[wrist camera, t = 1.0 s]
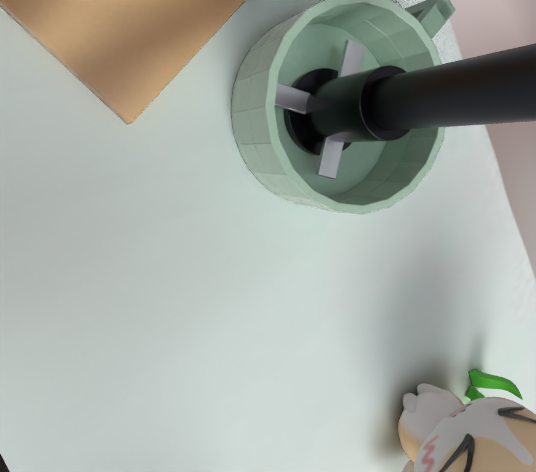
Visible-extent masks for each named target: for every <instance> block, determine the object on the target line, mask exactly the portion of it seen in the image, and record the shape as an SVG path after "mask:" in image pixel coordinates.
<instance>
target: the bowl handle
mask: <svg viewBox="0 0 536 472" xmlns="http://www.w3.org/2000/svg"><path fill="white" fill-rule="evenodd" d="M405 10H406V11H407V12H408V13H410V14H411V15H412V16H414V17H415V18H416V19H417V20H418V21H419V22H420V24H421V25H422V27H423V28H424V30H425V31H426V32H427V34H428V35H429V37H430V38H431V39H432V38H433V37H434V36H435V34H436V33H437V32H438V31H439V30H440V28H441V27H442V26H443V25H444V24H445V22H446V21H447V20H448V19H449V18H450V16H451V15H452V14H453V13H454V11H455V8H454V7H453V5H452V4H451V2H450V0H426V1H423V2H421V3H418V4H416V5H413V6H411V7H408V8H406V9H405Z"/></svg>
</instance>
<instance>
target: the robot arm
mask: <svg viewBox="0 0 536 472" xmlns="http://www.w3.org/2000/svg"><path fill="white" fill-rule="evenodd" d="M0 472H9V470H8V468H7V466H6V464H5V462H4V460H3V458H2V456H1V454H0Z"/></svg>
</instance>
